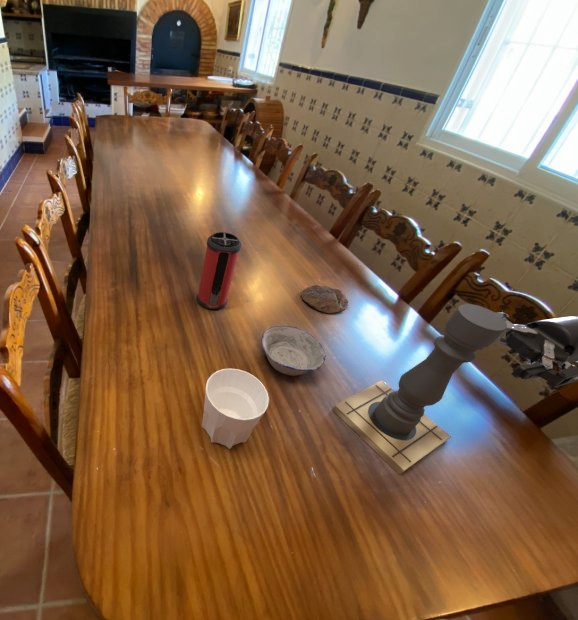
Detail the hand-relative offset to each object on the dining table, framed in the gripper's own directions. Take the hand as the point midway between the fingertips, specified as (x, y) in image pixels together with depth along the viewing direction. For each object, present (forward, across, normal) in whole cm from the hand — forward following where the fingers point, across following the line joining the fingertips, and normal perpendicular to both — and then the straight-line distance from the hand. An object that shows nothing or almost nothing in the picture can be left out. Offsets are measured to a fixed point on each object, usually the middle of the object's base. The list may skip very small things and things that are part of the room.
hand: (490, 351), depth 57 cm
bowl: (+20, -18, +18) cm, 32 cm away
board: (+9, 0, +18) cm, 20 cm away
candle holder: (+9, 0, +16) cm, 19 cm away
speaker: (+29, -40, +18) cm, 53 cm away
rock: (-1, -36, +18) cm, 40 cm away
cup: (+40, -5, +18) cm, 44 cm away
